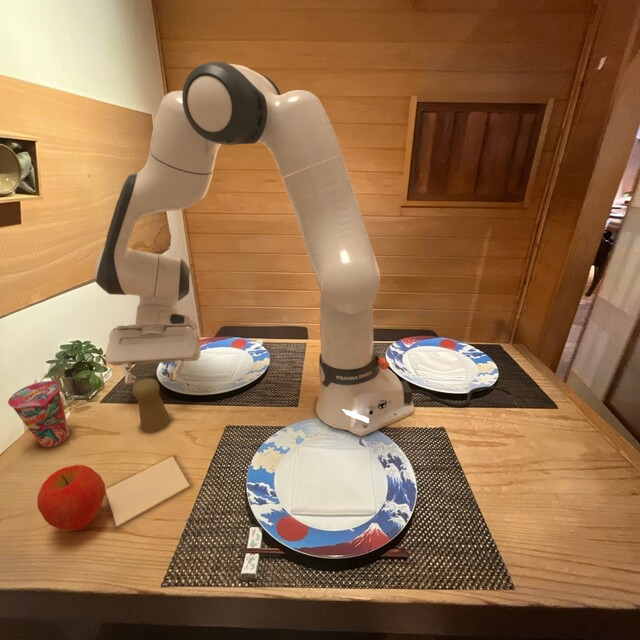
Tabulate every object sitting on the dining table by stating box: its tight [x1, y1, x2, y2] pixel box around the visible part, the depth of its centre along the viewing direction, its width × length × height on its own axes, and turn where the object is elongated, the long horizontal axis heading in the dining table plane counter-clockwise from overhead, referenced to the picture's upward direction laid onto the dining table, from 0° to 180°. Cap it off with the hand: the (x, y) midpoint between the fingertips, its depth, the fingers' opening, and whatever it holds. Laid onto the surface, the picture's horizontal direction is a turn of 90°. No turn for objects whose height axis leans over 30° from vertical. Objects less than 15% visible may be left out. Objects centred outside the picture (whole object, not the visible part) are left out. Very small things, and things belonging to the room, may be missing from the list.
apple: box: [36, 464, 106, 531], centre depth 56 cm, size 9×8×11 cm
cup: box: [7, 380, 70, 448], centre depth 74 cm, size 9×8×12 cm
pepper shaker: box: [132, 377, 171, 434], centre depth 78 cm, size 6×6×11 cm
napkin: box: [105, 456, 191, 528], centre depth 64 cm, size 12×9×1 cm
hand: (151, 382), depth 79 cm, fingers open, 8 cm apart
